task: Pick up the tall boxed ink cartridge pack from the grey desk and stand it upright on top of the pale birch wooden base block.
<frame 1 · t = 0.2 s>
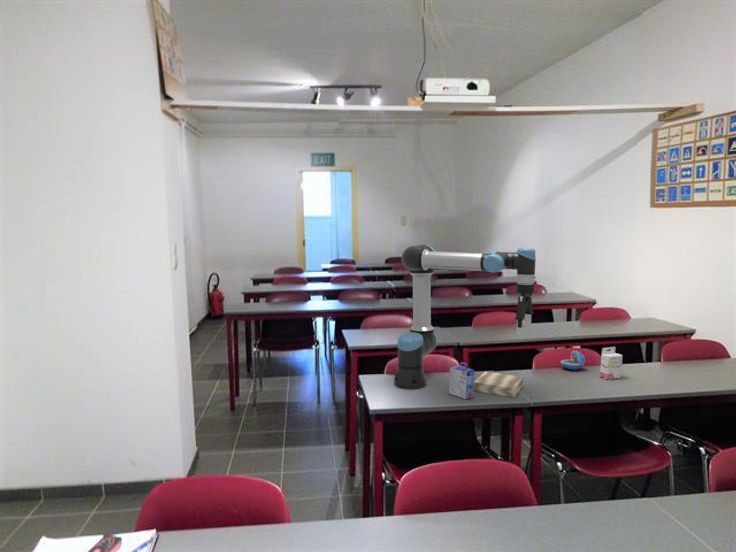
hand: (523, 331, 214), 28 cm above the table, fingers open, 13 cm apart
cell model: (572, 369, 251), on the table
ink cartridge box 2: (610, 378, 237), on the table
ink cartridge box: (461, 395, 215), on the table
birch base: (498, 388, 224), on the table
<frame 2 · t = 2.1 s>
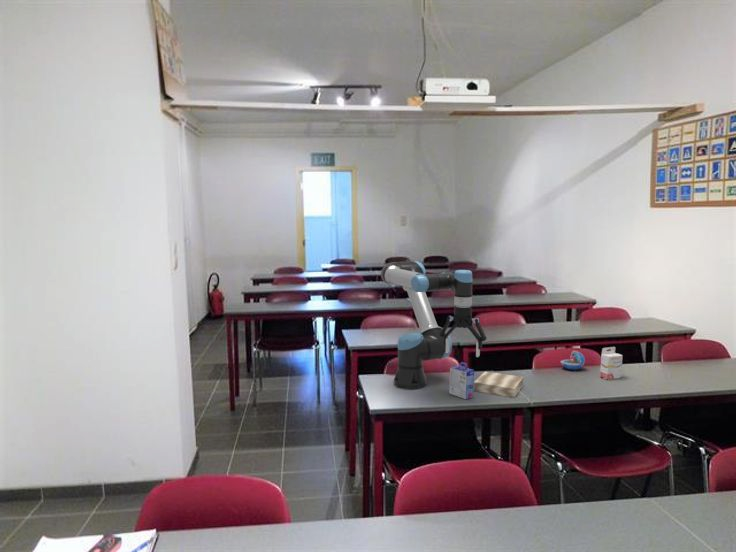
hand: (462, 354, 212), 18 cm above the table, fingers open, 13 cm apart
nothing on the table moved.
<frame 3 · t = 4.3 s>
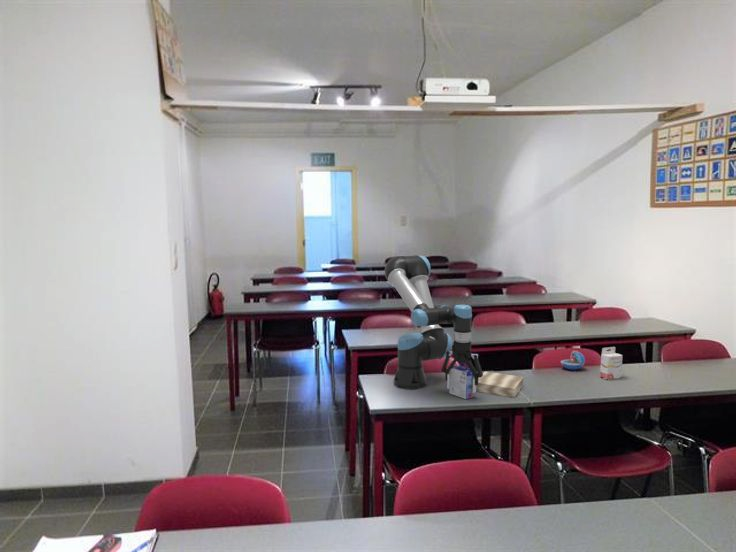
hand: (461, 389, 214), 2 cm above the table, fingers closed on ink cartridge box, 11 cm apart
ink cartridge box: (461, 395, 215), on the table, touching gripper
everything else where it was.
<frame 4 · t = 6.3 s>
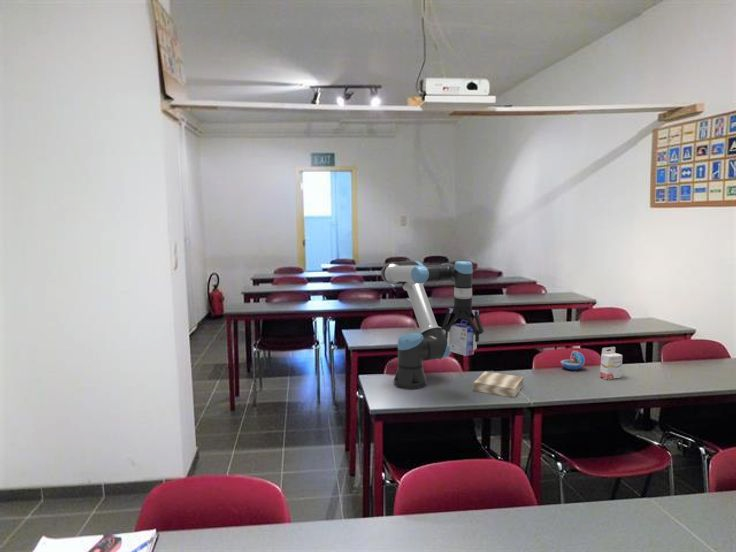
hand: (461, 347, 212), 21 cm above the table, fingers closed on ink cartridge box, 11 cm apart
ink cartridge box: (461, 353, 213), point 19 cm above the table, touching gripper
everything else where it was.
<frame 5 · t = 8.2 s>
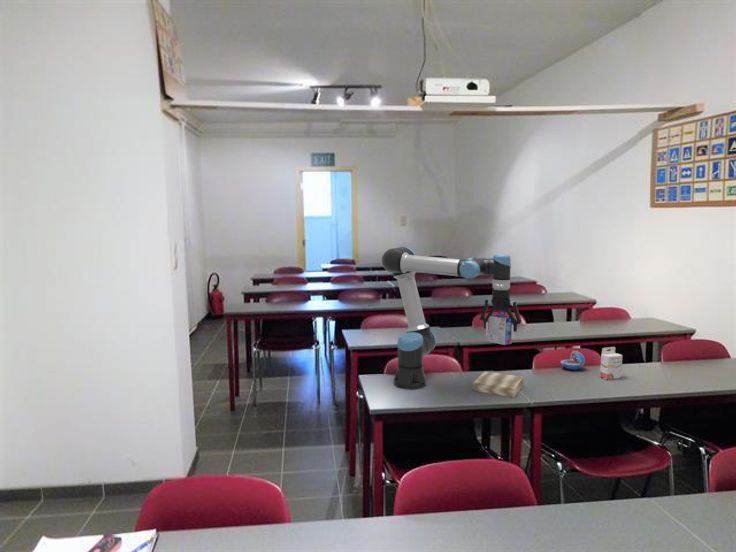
hand: (499, 337, 221), 24 cm above the table, fingers closed on ink cartridge box, 11 cm apart
ink cartridge box: (499, 343, 221), point 21 cm above the table, touching gripper
everything else where it was.
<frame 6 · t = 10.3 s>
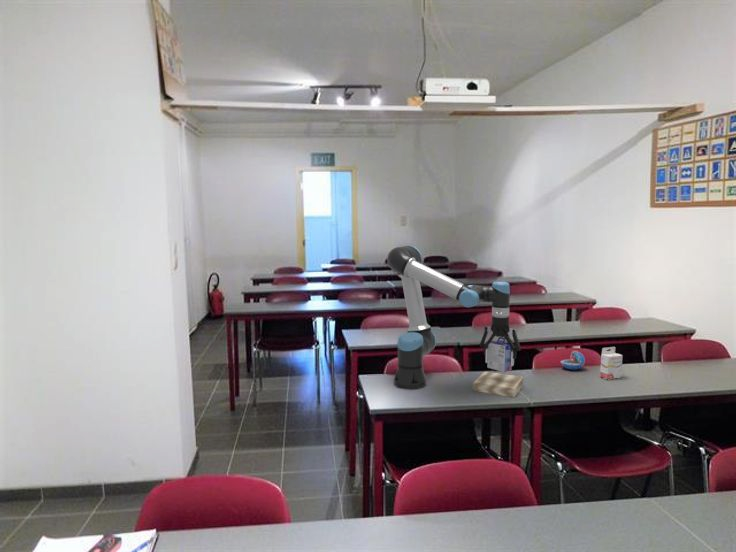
hand: (499, 363, 222), 11 cm above the table, fingers closed on ink cartridge box, 11 cm apart
ink cartridge box: (499, 369, 222), point 9 cm above the table, touching gripper
everything else where it was.
when the fingers open (8 cm above the table, at t = 12.1 s): ink cartridge box drops 1 cm, resting on birch base.
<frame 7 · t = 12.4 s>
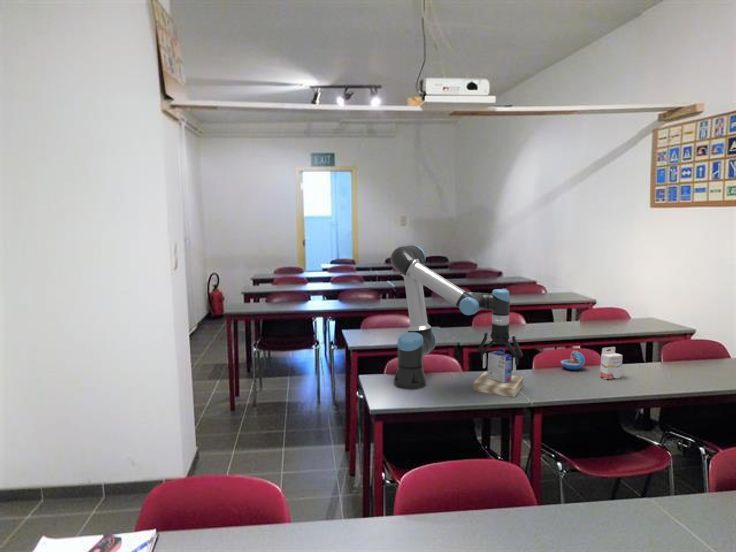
hand: (499, 369, 223), 9 cm above the table, fingers open, 13 cm apart
ink cartridge box: (499, 380, 223), point 4 cm above the table, touching birch base
everything else where it was.
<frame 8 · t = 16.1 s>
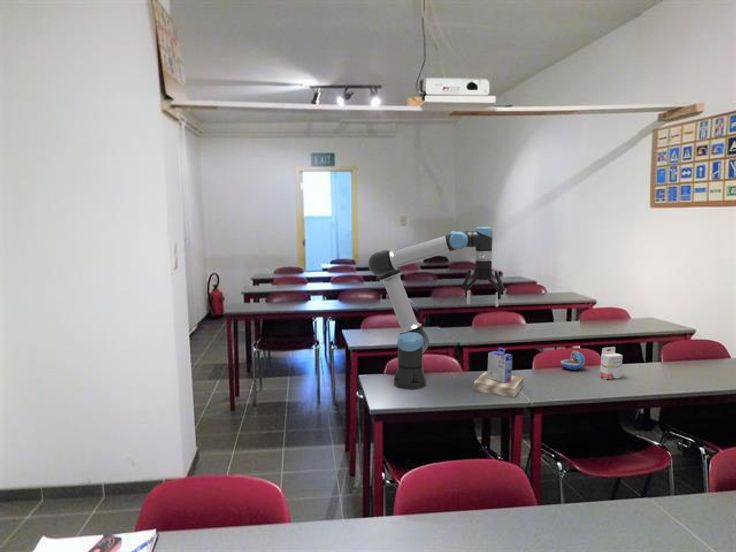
hand: (482, 305, 229), 37 cm above the table, fingers open, 13 cm apart
nothing on the table moved.
at the end: ink cartridge box inside the target area on the birch base (0.3 cm from its centre), point 3.8 cm above the birch base's base; ink cartridge box tilted 0°; the gripper is holding nothing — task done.
